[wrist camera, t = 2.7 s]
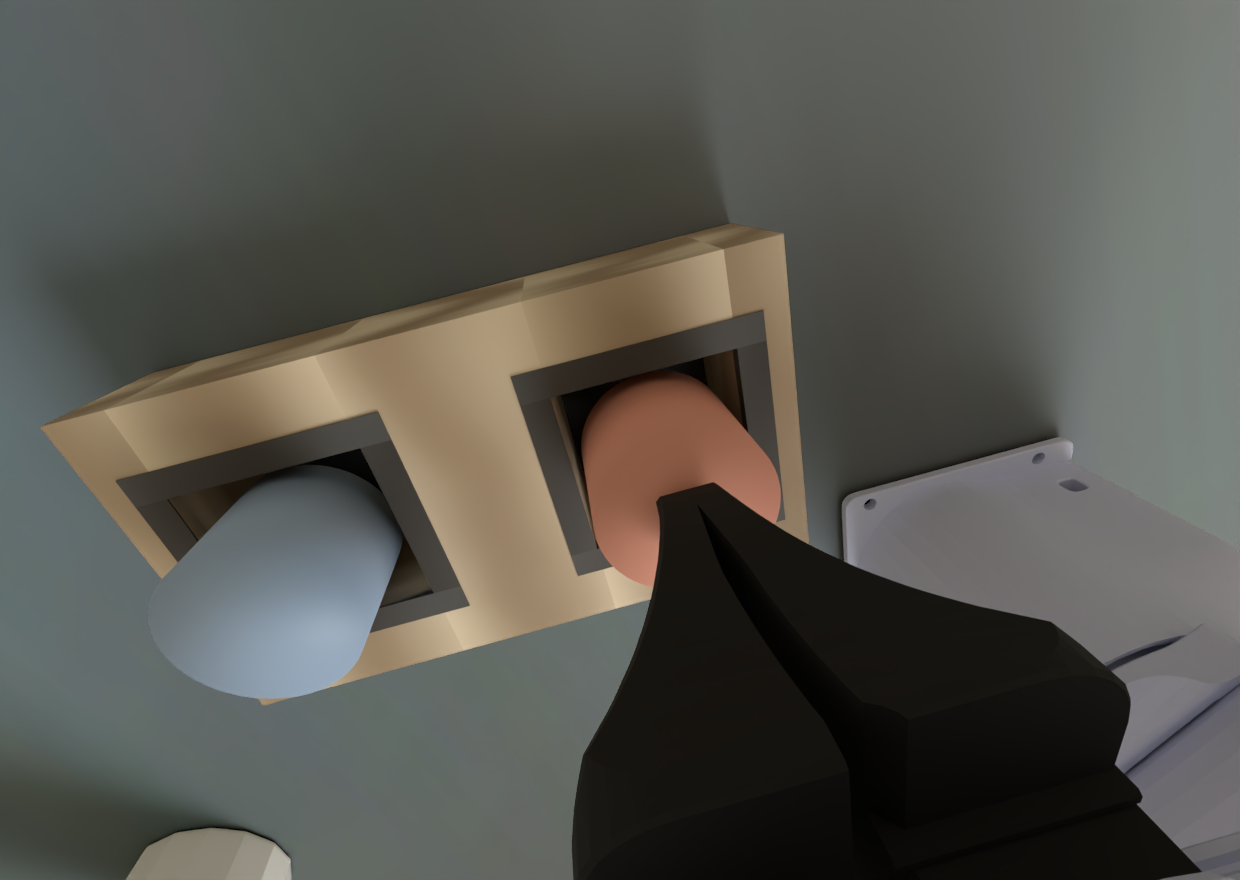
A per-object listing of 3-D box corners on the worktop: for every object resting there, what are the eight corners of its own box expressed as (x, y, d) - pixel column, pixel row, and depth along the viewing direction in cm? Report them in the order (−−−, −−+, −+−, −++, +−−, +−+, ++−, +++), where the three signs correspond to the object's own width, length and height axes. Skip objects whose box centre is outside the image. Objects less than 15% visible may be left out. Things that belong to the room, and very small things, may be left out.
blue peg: (363, 446, 15) (310, 526, 11) (425, 569, 16) (396, 669, 13) (204, 488, 14) (100, 582, 11) (285, 607, 16) (219, 718, 13)
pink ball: (717, 353, 15) (771, 402, 11) (737, 485, 17) (788, 562, 13) (563, 393, 15) (571, 456, 11) (601, 522, 17) (617, 608, 13)
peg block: (730, 223, 16) (784, 233, 13) (763, 491, 21) (810, 556, 17) (151, 373, 16) (38, 427, 12) (311, 614, 20) (262, 706, 17)
